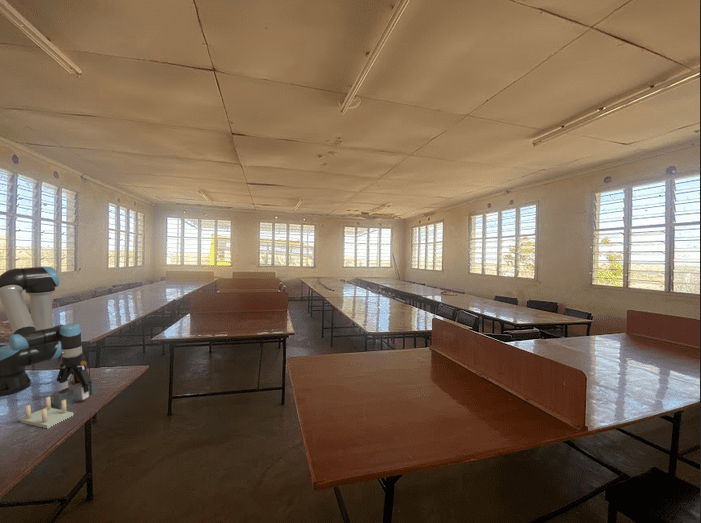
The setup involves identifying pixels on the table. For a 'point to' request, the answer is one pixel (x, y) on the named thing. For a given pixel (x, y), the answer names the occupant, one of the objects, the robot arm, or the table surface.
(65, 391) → the long grey bar
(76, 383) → the multimeter
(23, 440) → the table surface
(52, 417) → the peg rack
